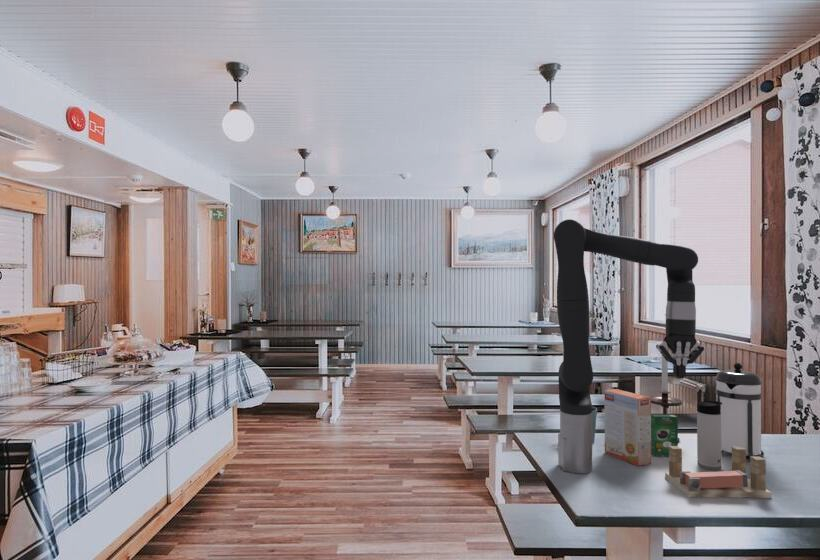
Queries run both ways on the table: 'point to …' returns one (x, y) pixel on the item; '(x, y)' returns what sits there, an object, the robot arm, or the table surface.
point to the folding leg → (719, 479)
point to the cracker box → (628, 426)
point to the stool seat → (738, 463)
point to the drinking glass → (593, 422)
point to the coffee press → (740, 410)
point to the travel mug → (709, 435)
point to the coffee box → (663, 434)
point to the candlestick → (665, 392)
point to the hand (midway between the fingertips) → (679, 378)
